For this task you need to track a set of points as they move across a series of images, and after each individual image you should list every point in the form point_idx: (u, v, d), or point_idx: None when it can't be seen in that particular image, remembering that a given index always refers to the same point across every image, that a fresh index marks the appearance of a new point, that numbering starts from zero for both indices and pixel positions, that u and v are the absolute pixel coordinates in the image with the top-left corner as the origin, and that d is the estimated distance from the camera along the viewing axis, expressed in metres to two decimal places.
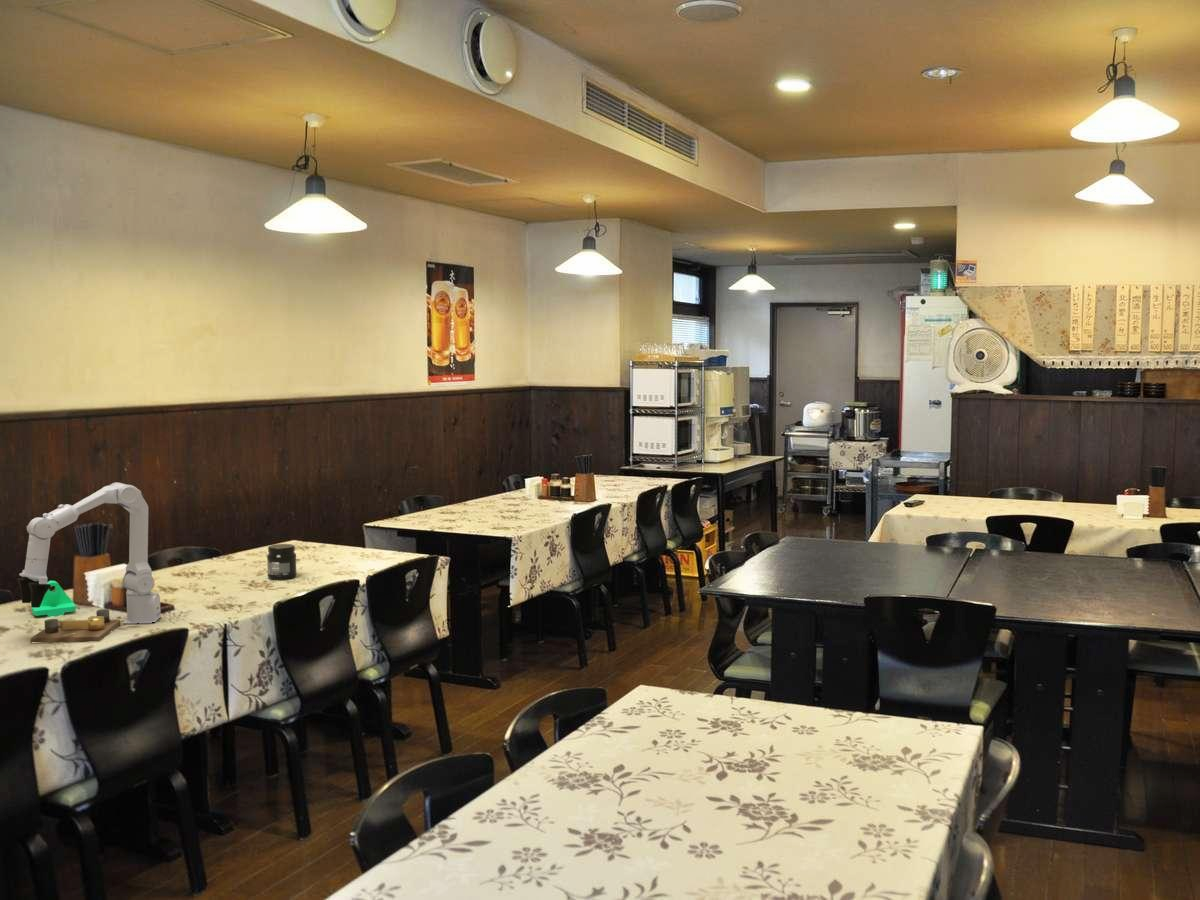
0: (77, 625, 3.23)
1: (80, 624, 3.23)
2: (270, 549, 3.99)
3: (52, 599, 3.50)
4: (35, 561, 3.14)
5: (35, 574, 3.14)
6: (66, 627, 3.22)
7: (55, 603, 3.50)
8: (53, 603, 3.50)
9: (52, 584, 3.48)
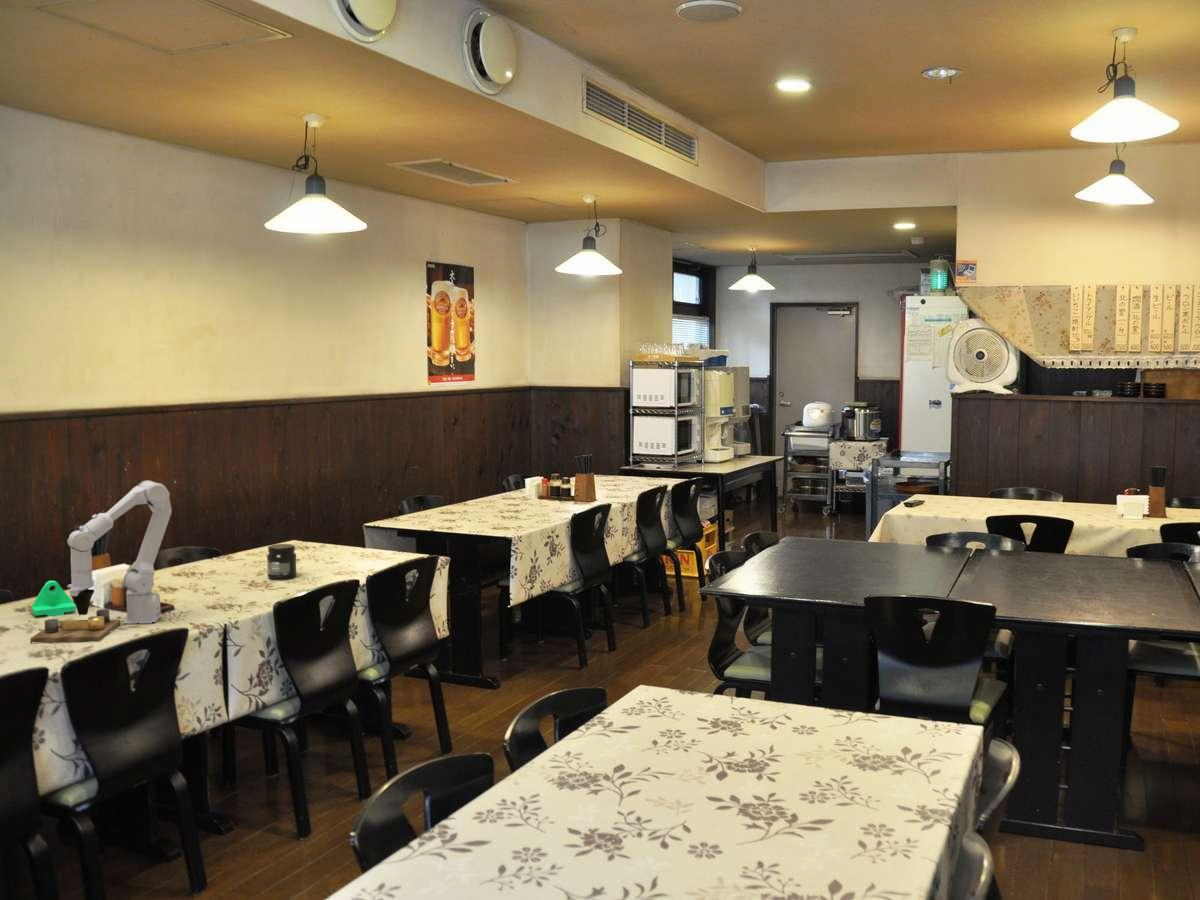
0: (77, 625, 3.23)
1: (80, 624, 3.23)
2: (270, 549, 3.99)
3: (52, 599, 3.50)
4: (74, 573, 3.25)
5: (75, 586, 3.25)
6: (66, 627, 3.22)
7: (55, 603, 3.51)
8: (53, 603, 3.50)
9: (52, 584, 3.48)
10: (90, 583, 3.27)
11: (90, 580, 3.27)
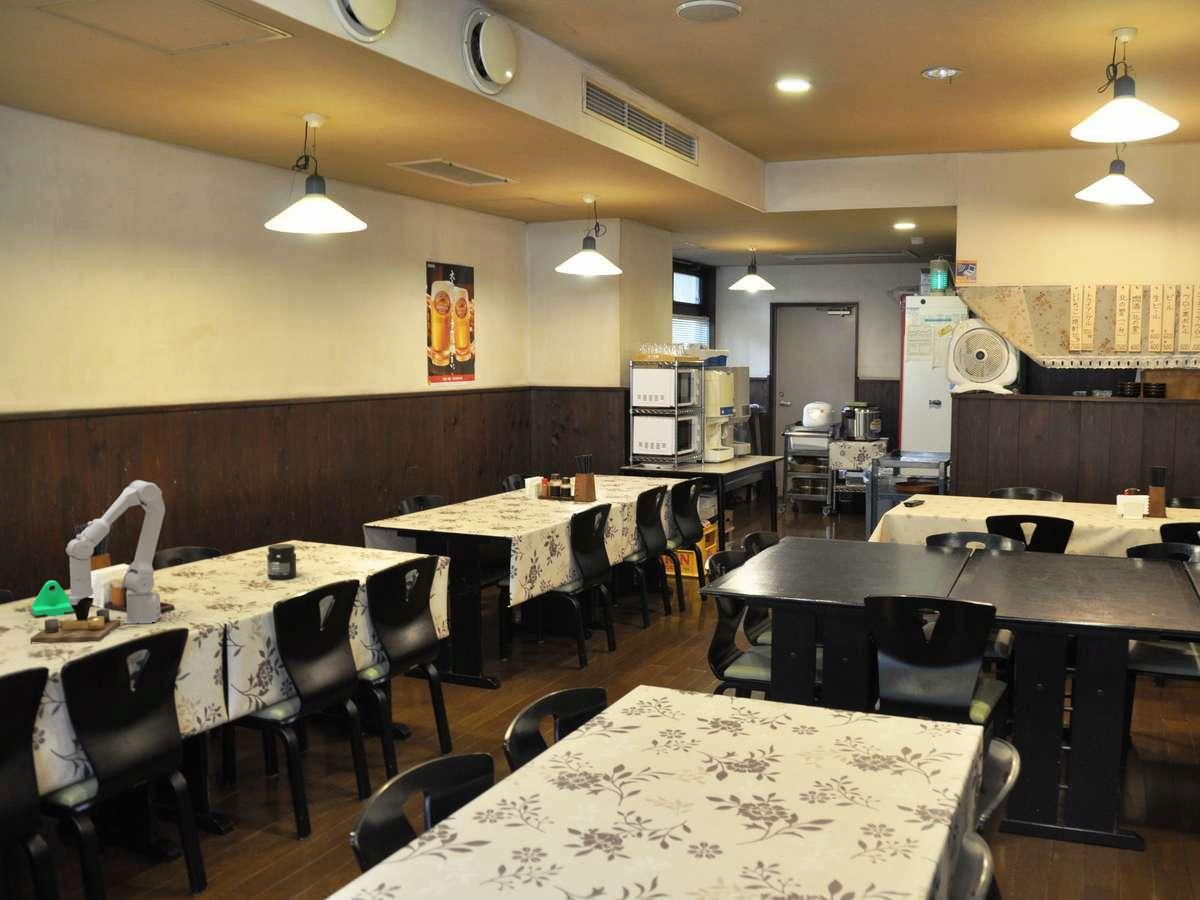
0: (77, 625, 3.23)
1: (80, 624, 3.23)
2: (270, 549, 3.99)
3: (52, 599, 3.50)
4: (73, 582, 3.24)
5: (75, 594, 3.24)
6: (66, 627, 3.22)
7: (55, 603, 3.51)
8: (53, 603, 3.50)
9: (52, 584, 3.48)
10: (89, 591, 3.26)
11: (89, 588, 3.26)
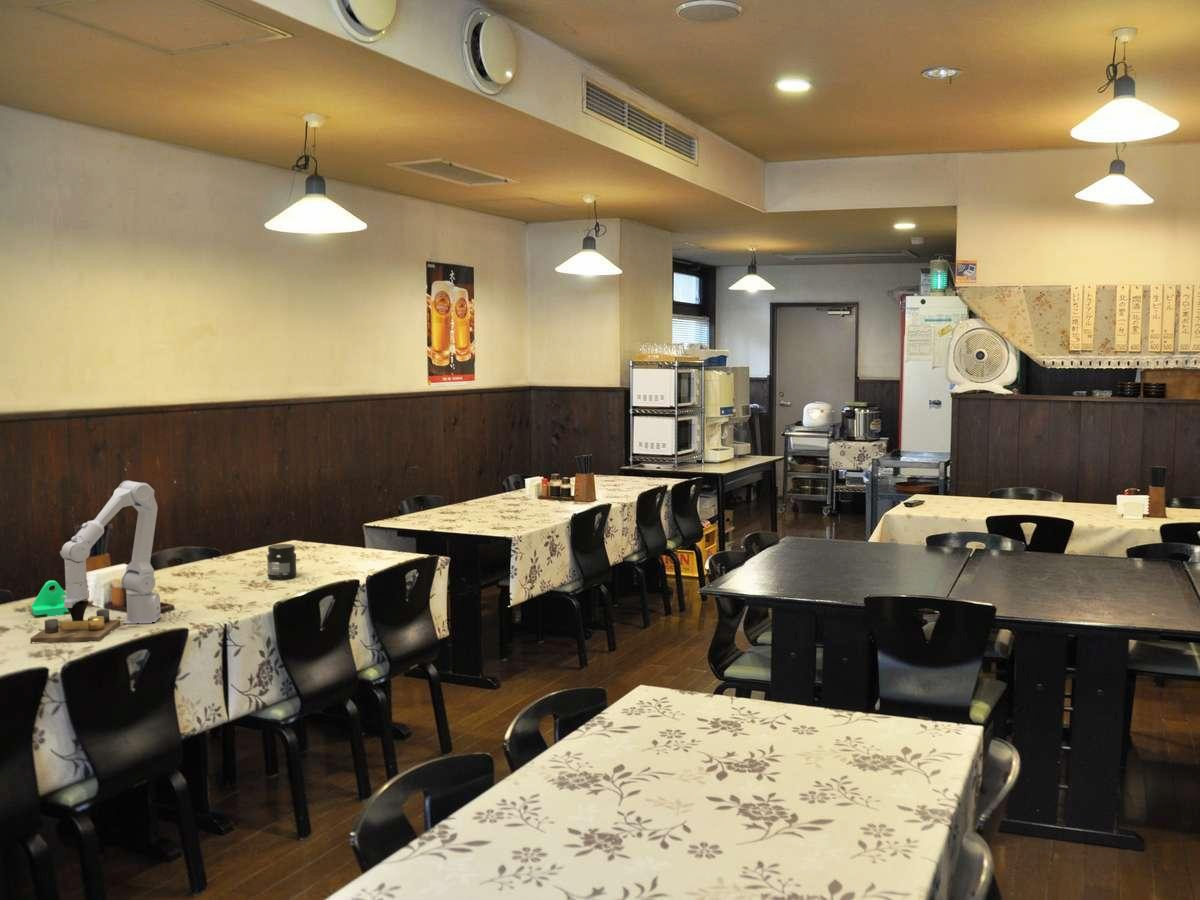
0: (77, 625, 3.22)
1: (80, 624, 3.23)
2: (270, 549, 3.99)
3: (52, 599, 3.50)
4: (68, 584, 3.20)
5: (70, 597, 3.20)
6: (66, 627, 3.22)
7: (55, 603, 3.51)
8: (53, 603, 3.51)
9: (52, 584, 3.48)
10: (85, 594, 3.23)
11: (85, 591, 3.23)
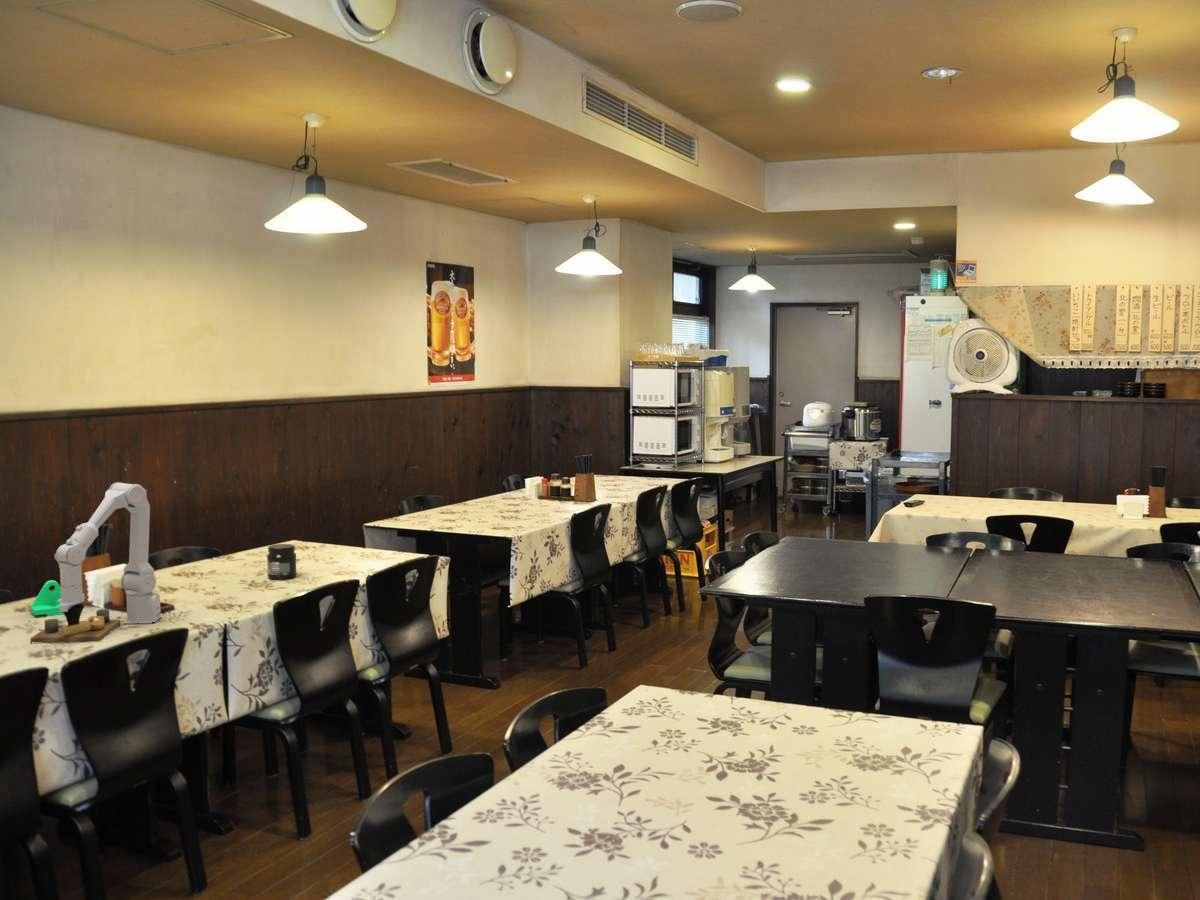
0: (80, 628, 3.19)
1: (83, 626, 3.20)
2: (270, 549, 3.99)
3: (52, 599, 3.50)
4: (63, 588, 3.16)
5: (65, 601, 3.16)
6: (70, 632, 3.17)
7: (55, 602, 3.51)
8: (53, 602, 3.51)
9: (52, 584, 3.48)
10: (80, 598, 3.19)
11: (80, 595, 3.19)
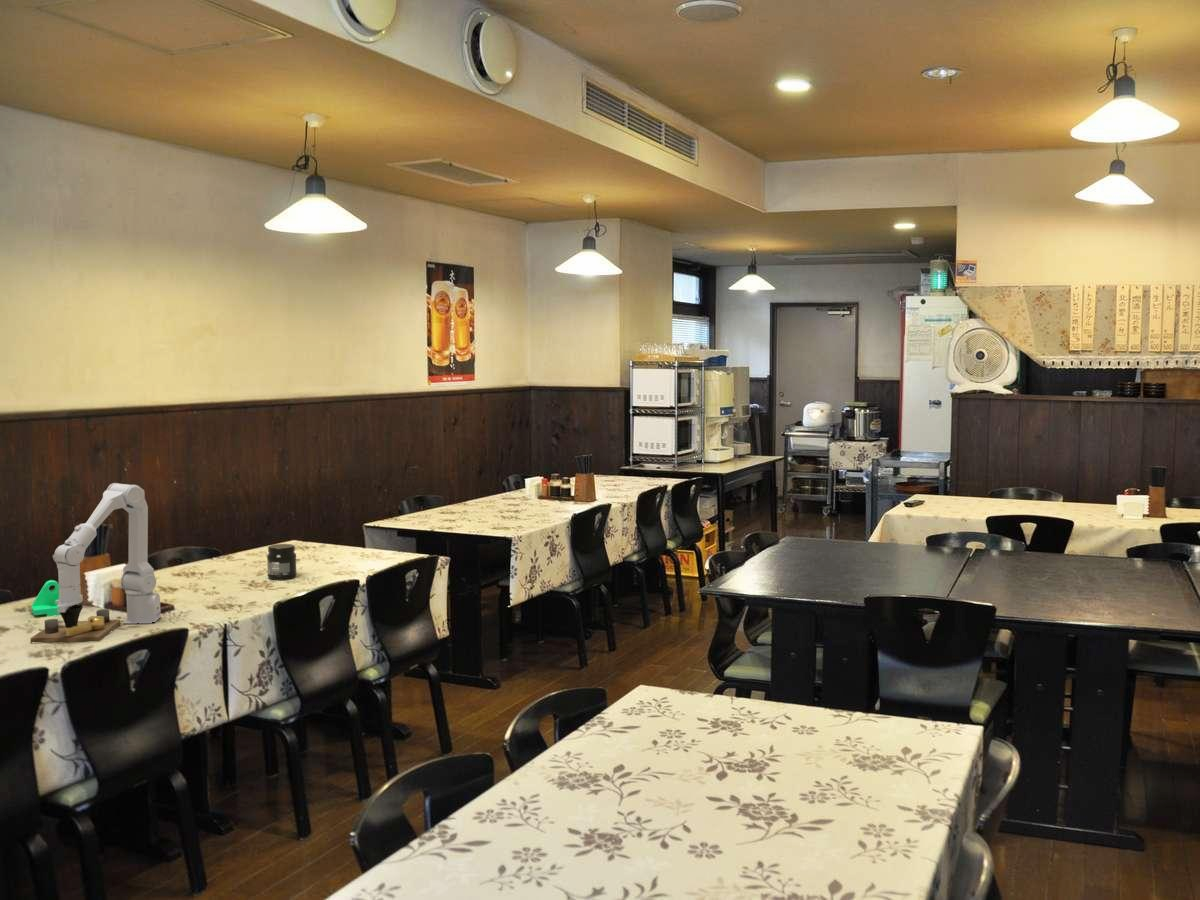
0: (83, 628, 3.19)
1: (85, 627, 3.20)
2: (270, 549, 3.99)
3: (52, 599, 3.51)
4: (62, 588, 3.15)
5: (63, 601, 3.15)
6: (74, 633, 3.16)
7: None
8: (53, 602, 3.51)
9: (52, 583, 3.49)
10: (78, 598, 3.17)
11: (78, 595, 3.17)
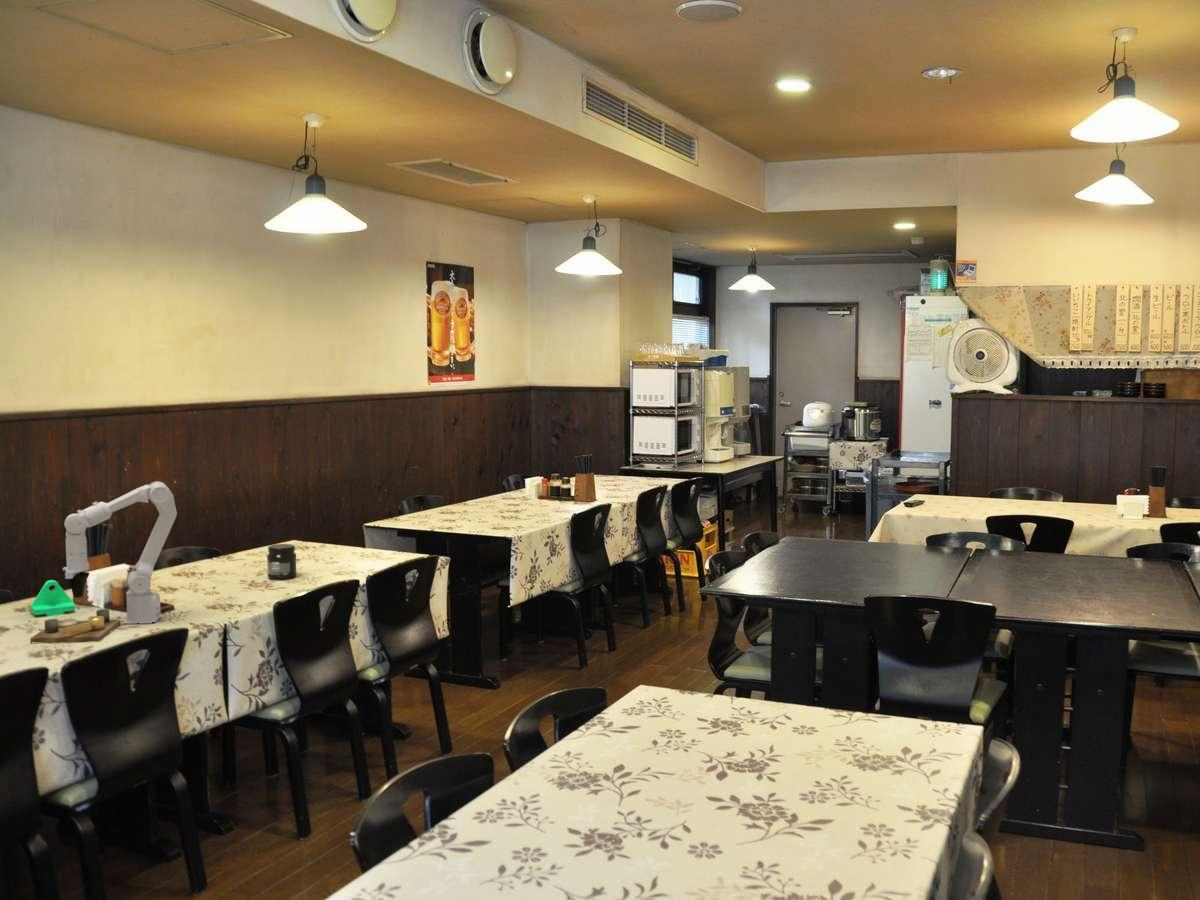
0: (83, 628, 3.19)
1: (85, 627, 3.20)
2: (270, 549, 3.99)
3: (51, 599, 3.51)
4: (69, 556, 3.27)
5: (70, 568, 3.27)
6: (74, 633, 3.16)
7: (55, 602, 3.51)
8: (53, 602, 3.51)
9: (52, 583, 3.49)
10: (85, 566, 3.30)
11: (85, 563, 3.30)
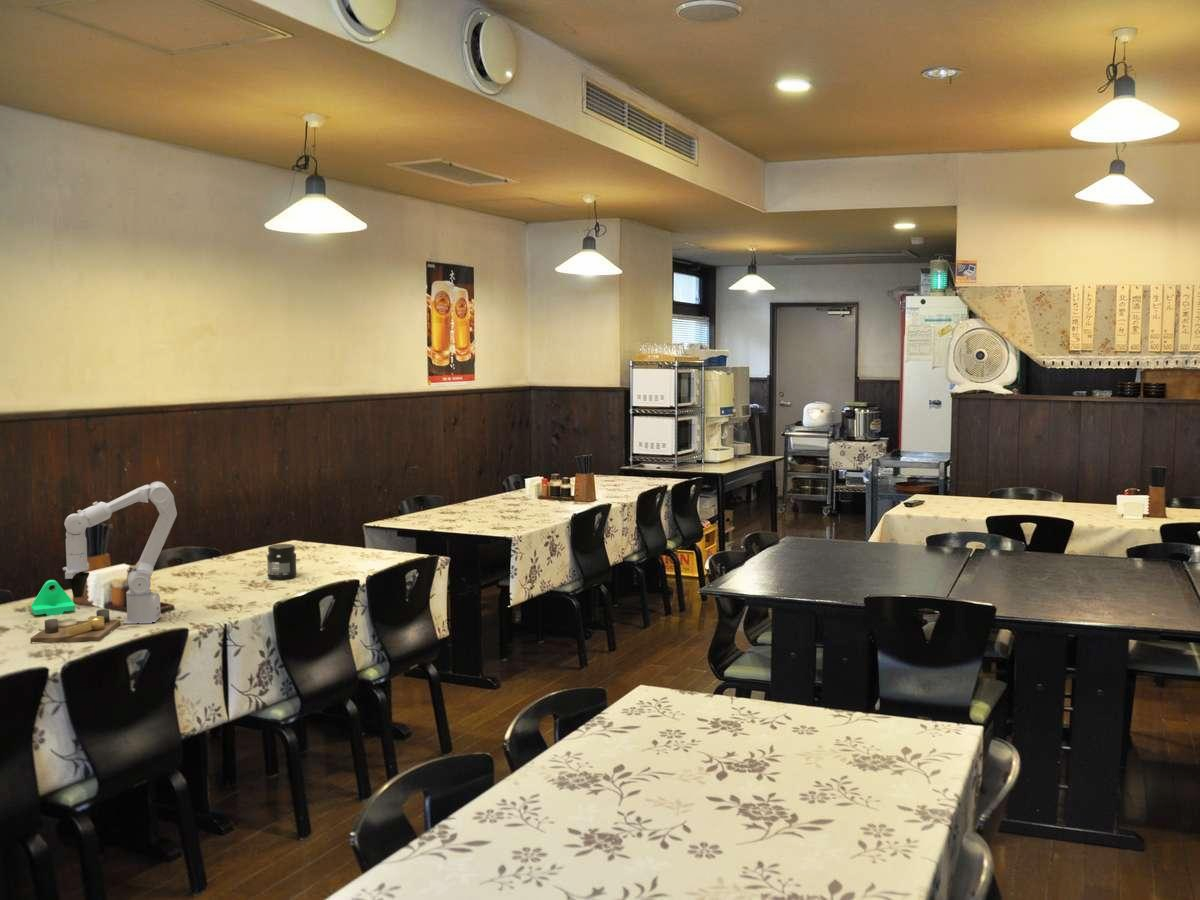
0: (83, 628, 3.19)
1: (85, 627, 3.20)
2: (270, 549, 3.99)
3: (51, 598, 3.51)
4: (69, 556, 3.27)
5: (70, 568, 3.27)
6: (74, 633, 3.16)
7: (55, 602, 3.52)
8: (53, 602, 3.51)
9: (51, 583, 3.49)
10: (85, 566, 3.30)
11: (85, 563, 3.30)
